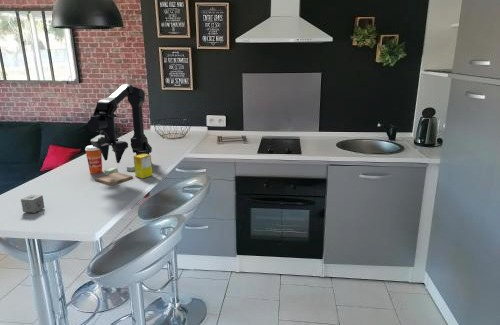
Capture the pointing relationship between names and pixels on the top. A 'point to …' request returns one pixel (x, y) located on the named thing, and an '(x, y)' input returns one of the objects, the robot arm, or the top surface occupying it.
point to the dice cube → (32, 203)
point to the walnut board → (113, 178)
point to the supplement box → (143, 166)
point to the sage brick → (111, 171)
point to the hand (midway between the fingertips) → (112, 161)
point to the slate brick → (131, 168)
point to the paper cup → (94, 159)
